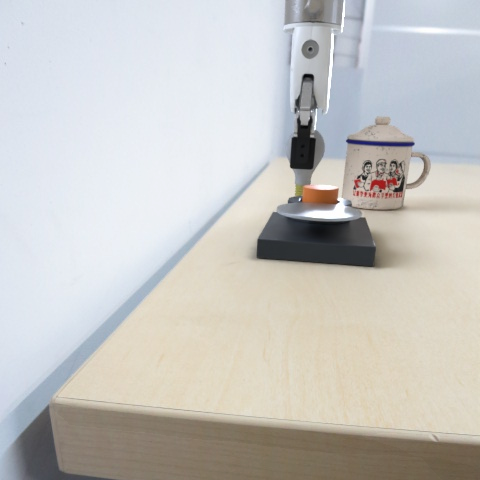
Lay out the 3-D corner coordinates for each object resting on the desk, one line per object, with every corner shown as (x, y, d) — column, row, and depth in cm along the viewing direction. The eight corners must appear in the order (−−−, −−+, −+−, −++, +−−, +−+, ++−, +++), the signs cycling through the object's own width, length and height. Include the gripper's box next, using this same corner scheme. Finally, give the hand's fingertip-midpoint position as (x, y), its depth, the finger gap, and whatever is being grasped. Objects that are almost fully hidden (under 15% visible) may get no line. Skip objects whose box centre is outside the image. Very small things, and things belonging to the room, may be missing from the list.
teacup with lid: (346, 209, 66) (357, 115, 62) (333, 198, 75) (342, 115, 70) (435, 212, 67) (452, 119, 62) (412, 200, 75) (425, 118, 71)
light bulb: (301, 194, 76) (306, 124, 71) (328, 201, 72) (335, 127, 68) (275, 199, 73) (278, 126, 68) (301, 206, 69) (307, 129, 64)
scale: (273, 224, 56) (274, 193, 55) (362, 230, 55) (366, 198, 53) (256, 258, 43) (258, 218, 42) (373, 266, 42) (379, 225, 40)
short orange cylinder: (302, 200, 53) (304, 183, 53) (336, 202, 53) (338, 185, 52) (301, 206, 50) (302, 188, 49) (337, 208, 49) (339, 190, 49)
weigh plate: (336, 204, 49) (336, 201, 49) (378, 219, 43) (378, 216, 42) (264, 206, 47) (264, 203, 47) (296, 223, 40) (297, 219, 40)
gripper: (346, 6, 55) (330, 175, 62) (340, 29, 70) (327, 162, 78) (279, 5, 56) (270, 172, 63) (287, 29, 71) (280, 160, 78)
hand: (302, 165), depth 70 cm, fingers closed on light bulb, 5 cm apart
